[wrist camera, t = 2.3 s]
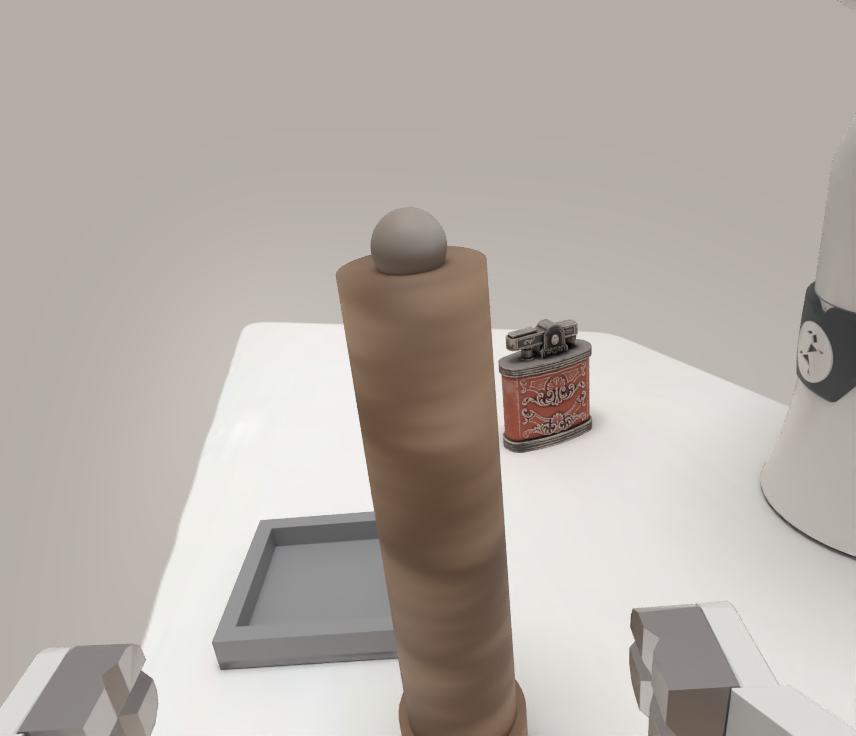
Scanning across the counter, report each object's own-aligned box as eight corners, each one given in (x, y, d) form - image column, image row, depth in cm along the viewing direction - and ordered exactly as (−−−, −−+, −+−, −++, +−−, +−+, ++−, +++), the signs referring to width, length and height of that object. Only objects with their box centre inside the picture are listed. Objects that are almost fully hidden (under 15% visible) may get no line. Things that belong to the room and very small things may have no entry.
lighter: (577, 414, 58) (575, 306, 54) (600, 430, 55) (600, 318, 51) (496, 439, 56) (488, 328, 52) (516, 457, 53) (509, 341, 49)
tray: (417, 532, 45) (414, 508, 44) (412, 656, 36) (408, 629, 35) (266, 543, 46) (260, 520, 45) (220, 669, 36) (211, 642, 35)
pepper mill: (521, 696, 33) (488, 184, 23) (537, 812, 27) (504, 216, 18) (408, 703, 33) (328, 201, 23) (403, 819, 28) (297, 237, 18)
